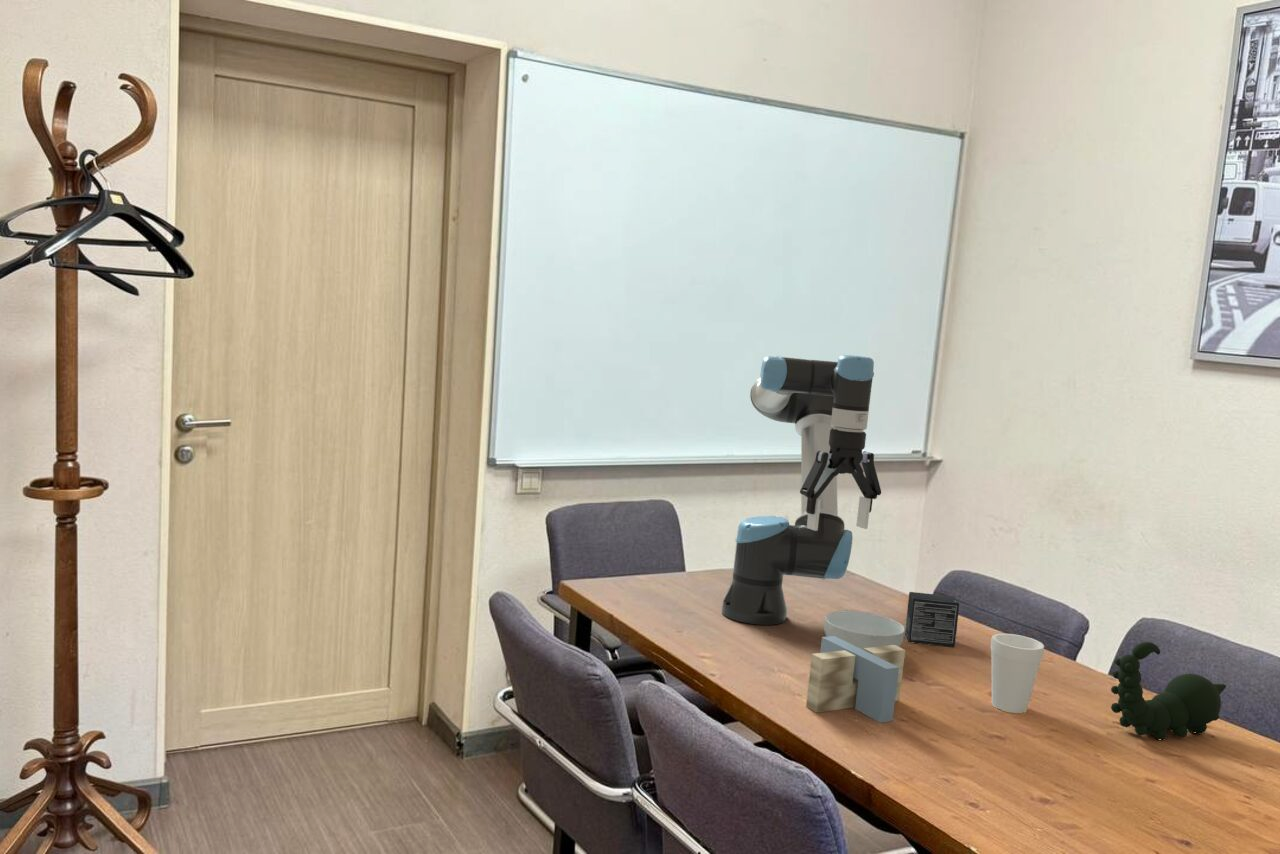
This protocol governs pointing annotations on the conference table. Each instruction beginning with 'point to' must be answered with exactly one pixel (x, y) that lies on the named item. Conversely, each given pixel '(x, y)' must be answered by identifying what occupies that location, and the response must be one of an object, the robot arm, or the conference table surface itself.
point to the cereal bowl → (864, 629)
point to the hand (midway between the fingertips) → (837, 528)
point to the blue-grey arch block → (869, 680)
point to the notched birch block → (844, 677)
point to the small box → (932, 619)
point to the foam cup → (1014, 670)
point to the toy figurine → (1164, 699)
